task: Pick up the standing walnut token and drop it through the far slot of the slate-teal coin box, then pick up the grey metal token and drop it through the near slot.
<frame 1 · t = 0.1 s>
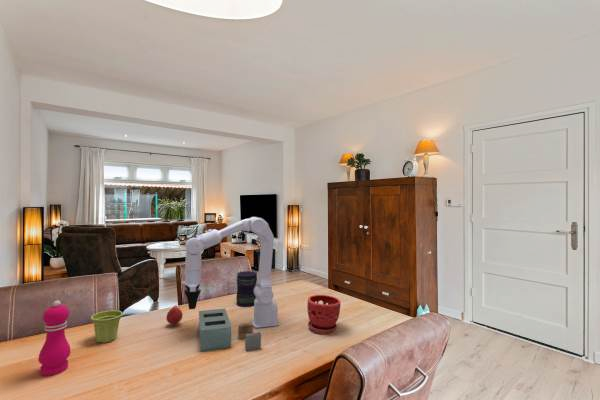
hand: (192, 305, 115), 10 cm above the table, tool pointing down, fingers open, 7 cm apart
walnut token: (245, 338, 111), on the table
coin box: (213, 337, 111), on the table
plant pot: (106, 339, 107), on the table
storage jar: (246, 304, 149), on the table
plant pot 2: (323, 329, 121), on the table
onion: (174, 326, 121), on the table
pepper mill: (54, 370, 87), on the table
grey token: (252, 348, 103), on the table
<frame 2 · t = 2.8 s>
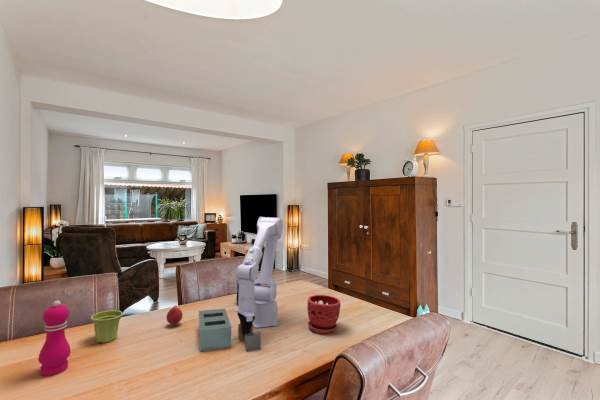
hand: (245, 333, 111), 1 cm above the table, tool pointing down, fingers closed on walnut token, 2 cm apart
walnut token: (245, 337, 111), on the table, touching gripper
everything else where it was.
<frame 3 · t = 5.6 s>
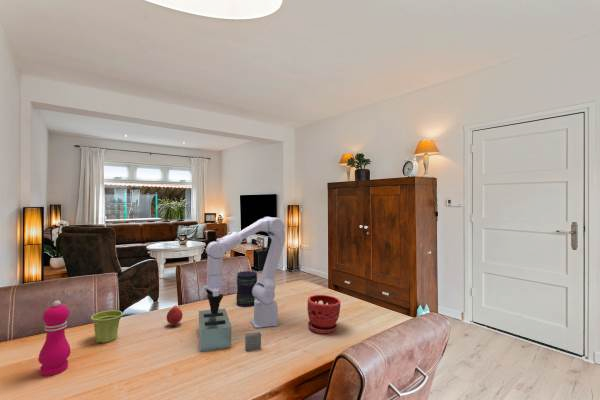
hand: (213, 309, 114), 9 cm above the table, tool pointing down, fingers open, 7 cm apart
walnut token: (213, 331, 115), point 1 cm above the table, tilted 49°, touching coin box
everything else where it was.
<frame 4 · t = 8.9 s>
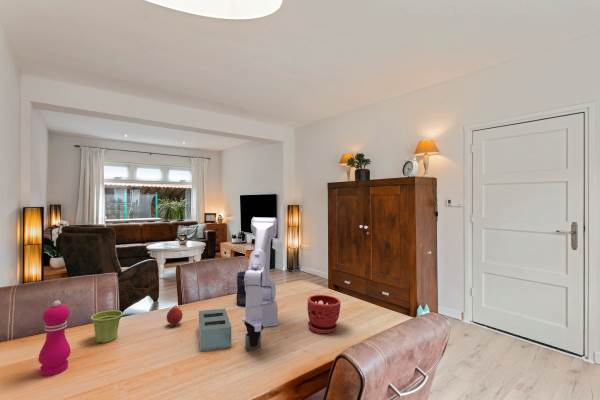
hand: (253, 344, 103), 1 cm above the table, tool pointing down, fingers closed on grey token, 2 cm apart
grey token: (252, 348, 103), on the table, touching gripper
everything else where it was.
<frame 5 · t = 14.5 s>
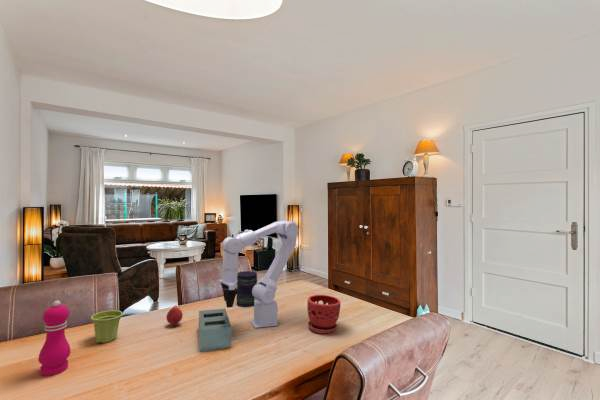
hand: (228, 303, 117), 10 cm above the table, tool pointing down, fingers open, 7 cm apart
grey token: (214, 343, 107), resting in coin box
everything else where it was.
at the end: walnut token inside the target area on the coin box (4.0 cm from its centre), point 0.7 cm above the coin box's base; grey token inside the target area on the coin box (4.4 cm from its centre), point 0.0 cm above the coin box's base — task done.
